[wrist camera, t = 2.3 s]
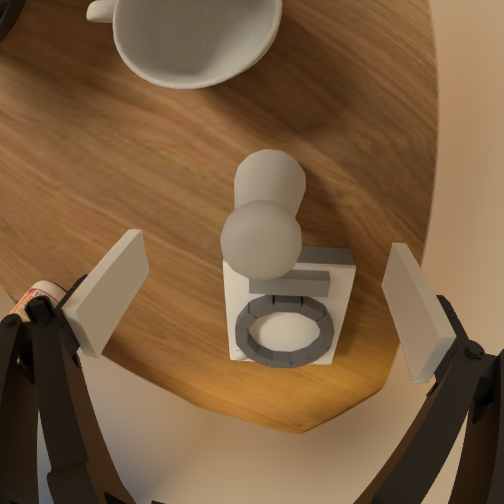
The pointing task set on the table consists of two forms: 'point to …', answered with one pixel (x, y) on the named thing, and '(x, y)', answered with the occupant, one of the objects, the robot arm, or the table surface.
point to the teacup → (190, 37)
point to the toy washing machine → (290, 310)
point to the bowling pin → (265, 216)
